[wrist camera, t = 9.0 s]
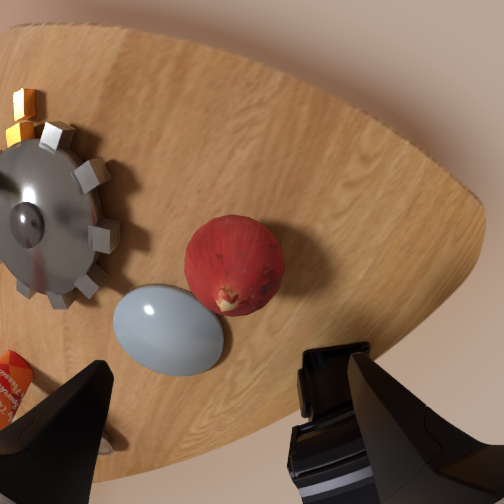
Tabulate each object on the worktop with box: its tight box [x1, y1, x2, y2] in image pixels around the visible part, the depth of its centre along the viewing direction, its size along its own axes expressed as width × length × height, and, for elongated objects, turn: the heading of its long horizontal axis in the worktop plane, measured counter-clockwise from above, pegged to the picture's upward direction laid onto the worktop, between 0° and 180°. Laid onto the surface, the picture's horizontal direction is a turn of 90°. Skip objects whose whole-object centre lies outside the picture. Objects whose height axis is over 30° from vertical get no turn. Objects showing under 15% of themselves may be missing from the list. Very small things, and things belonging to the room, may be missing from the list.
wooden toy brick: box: [14, 89, 36, 121], centre depth 17 cm, size 8×15×2 cm, turn 4°
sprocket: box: [0, 121, 121, 309], centre depth 16 cm, size 16×16×5 cm
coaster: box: [113, 284, 224, 376], centre depth 23 cm, size 10×10×1 cm
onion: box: [184, 214, 285, 317], centre depth 16 cm, size 6×6×8 cm
